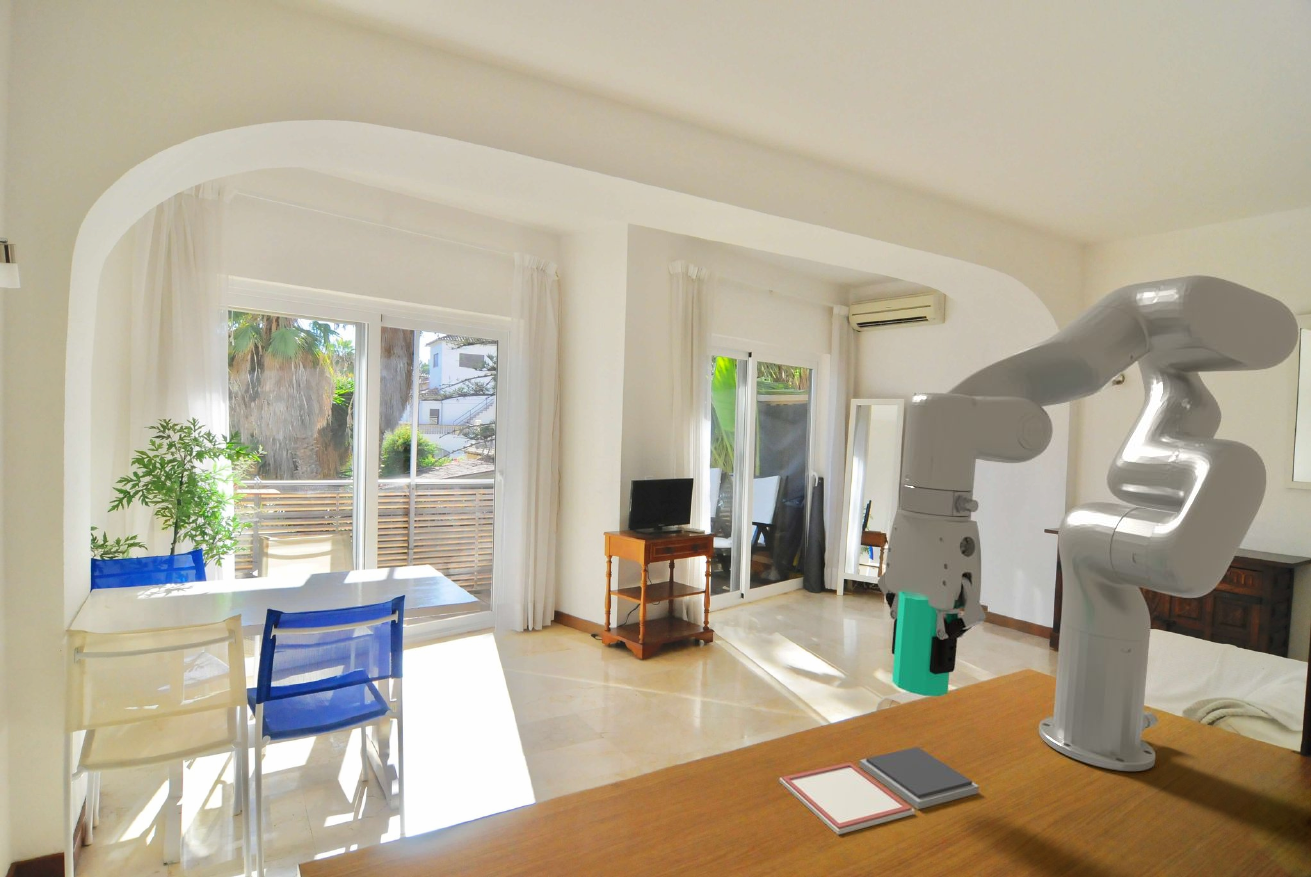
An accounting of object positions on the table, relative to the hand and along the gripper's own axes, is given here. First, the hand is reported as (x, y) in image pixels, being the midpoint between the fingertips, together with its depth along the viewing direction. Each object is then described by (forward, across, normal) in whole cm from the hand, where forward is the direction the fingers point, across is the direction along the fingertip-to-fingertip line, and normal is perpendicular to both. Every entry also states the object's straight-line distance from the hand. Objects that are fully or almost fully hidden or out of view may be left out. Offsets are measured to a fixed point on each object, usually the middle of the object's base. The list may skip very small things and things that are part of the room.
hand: (922, 661), depth 77 cm
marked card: (+14, 0, +10) cm, 17 cm away
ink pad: (+14, 0, -1) cm, 14 cm away
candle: (+3, 0, 0) cm, 3 cm away
